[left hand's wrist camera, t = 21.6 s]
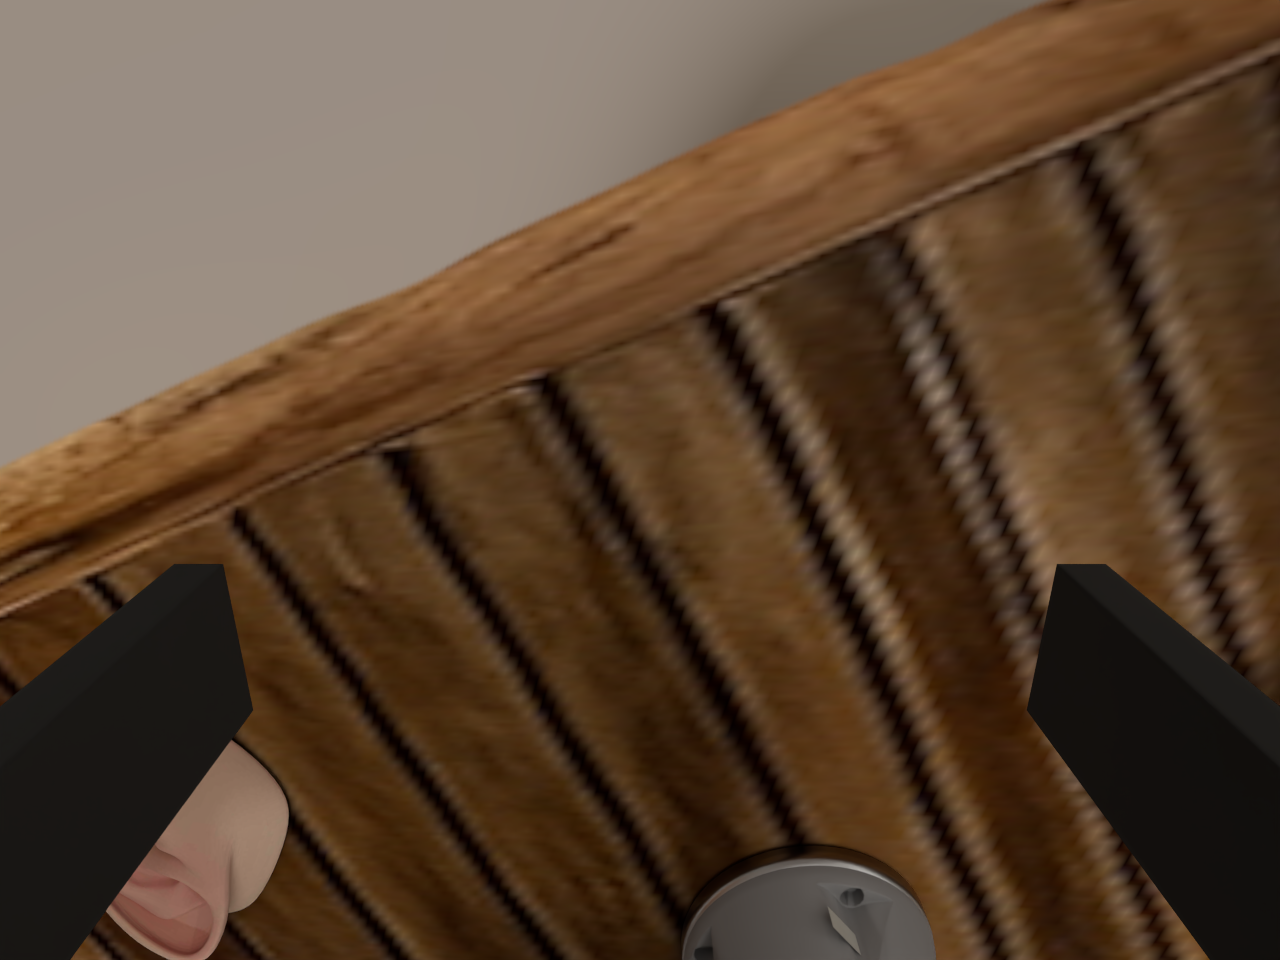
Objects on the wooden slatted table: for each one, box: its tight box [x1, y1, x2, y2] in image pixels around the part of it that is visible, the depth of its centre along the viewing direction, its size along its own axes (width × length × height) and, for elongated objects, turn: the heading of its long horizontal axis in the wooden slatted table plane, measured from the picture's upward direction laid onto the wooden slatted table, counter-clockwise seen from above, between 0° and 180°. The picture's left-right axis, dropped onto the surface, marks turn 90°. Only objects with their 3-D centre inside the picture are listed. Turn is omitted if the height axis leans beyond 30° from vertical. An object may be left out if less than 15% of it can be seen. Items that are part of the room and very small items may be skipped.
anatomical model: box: [106, 740, 289, 960], centre depth 44 cm, size 13×4×12 cm
